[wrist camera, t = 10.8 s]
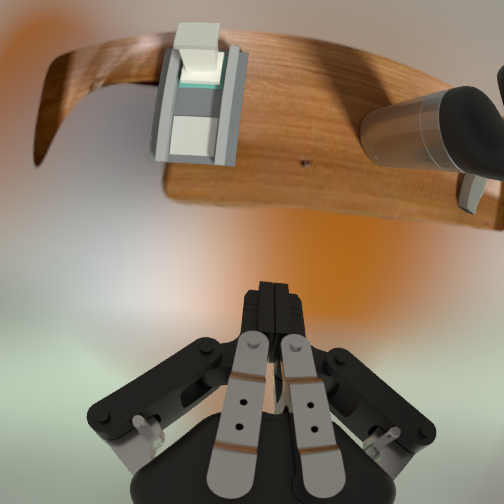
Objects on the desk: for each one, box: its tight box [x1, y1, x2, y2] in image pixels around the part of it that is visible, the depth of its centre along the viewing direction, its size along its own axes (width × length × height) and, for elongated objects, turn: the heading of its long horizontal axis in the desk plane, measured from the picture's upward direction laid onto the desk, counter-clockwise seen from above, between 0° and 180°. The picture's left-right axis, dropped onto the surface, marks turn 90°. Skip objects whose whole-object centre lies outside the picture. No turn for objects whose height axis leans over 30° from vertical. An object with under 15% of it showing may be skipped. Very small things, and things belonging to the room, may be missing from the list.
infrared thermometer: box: [458, 173, 488, 215], centre depth 38 cm, size 5×12×15 cm
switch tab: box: [173, 23, 224, 85], centre depth 24 cm, size 4×5×10 cm
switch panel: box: [149, 45, 249, 167], centre depth 31 cm, size 16×11×4 cm
